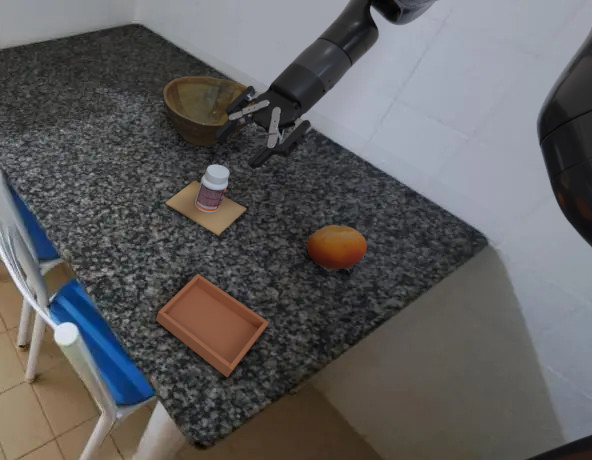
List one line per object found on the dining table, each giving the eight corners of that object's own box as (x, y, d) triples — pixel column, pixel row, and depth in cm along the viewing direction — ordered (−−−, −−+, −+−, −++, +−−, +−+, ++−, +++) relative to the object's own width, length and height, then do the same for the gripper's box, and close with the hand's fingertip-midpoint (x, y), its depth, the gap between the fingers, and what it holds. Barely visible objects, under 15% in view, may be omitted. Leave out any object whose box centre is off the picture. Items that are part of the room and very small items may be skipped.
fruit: (332, 284, 62) (336, 236, 60) (296, 267, 69) (299, 224, 67) (376, 276, 63) (381, 229, 61) (336, 261, 71) (340, 218, 68)
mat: (246, 210, 76) (246, 208, 75) (218, 236, 71) (218, 234, 71) (194, 181, 82) (194, 180, 81) (165, 203, 77) (165, 202, 76)
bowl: (264, 133, 95) (280, 94, 88) (218, 176, 83) (232, 135, 76) (186, 102, 105) (195, 65, 98) (135, 137, 93) (141, 97, 86)
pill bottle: (221, 214, 74) (235, 179, 68) (196, 213, 74) (207, 178, 68) (216, 197, 78) (228, 163, 72) (192, 197, 78) (202, 162, 72)
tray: (263, 330, 58) (269, 322, 56) (227, 377, 53) (232, 370, 51) (194, 282, 64) (197, 273, 62) (155, 320, 59) (158, 311, 57)
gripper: (271, 47, 65) (199, 123, 70) (342, 83, 57) (255, 167, 61) (282, 72, 71) (215, 141, 76) (349, 109, 62) (268, 184, 67)
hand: (233, 152), depth 68 cm, fingers open, 8 cm apart
